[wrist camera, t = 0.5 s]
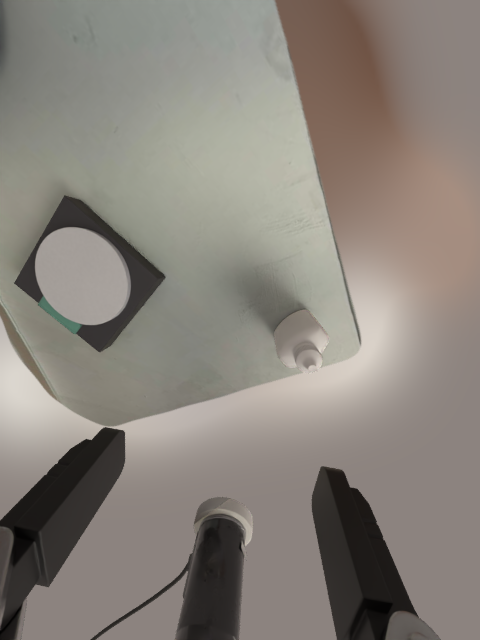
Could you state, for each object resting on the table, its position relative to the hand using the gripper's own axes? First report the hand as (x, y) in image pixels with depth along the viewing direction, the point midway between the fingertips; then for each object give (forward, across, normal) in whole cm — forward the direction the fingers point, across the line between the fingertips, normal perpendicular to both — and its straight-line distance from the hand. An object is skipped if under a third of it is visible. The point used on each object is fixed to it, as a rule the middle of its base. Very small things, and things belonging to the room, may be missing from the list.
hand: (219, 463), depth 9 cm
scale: (+23, -22, +2) cm, 32 cm away
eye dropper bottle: (+23, +6, 0) cm, 24 cm away
